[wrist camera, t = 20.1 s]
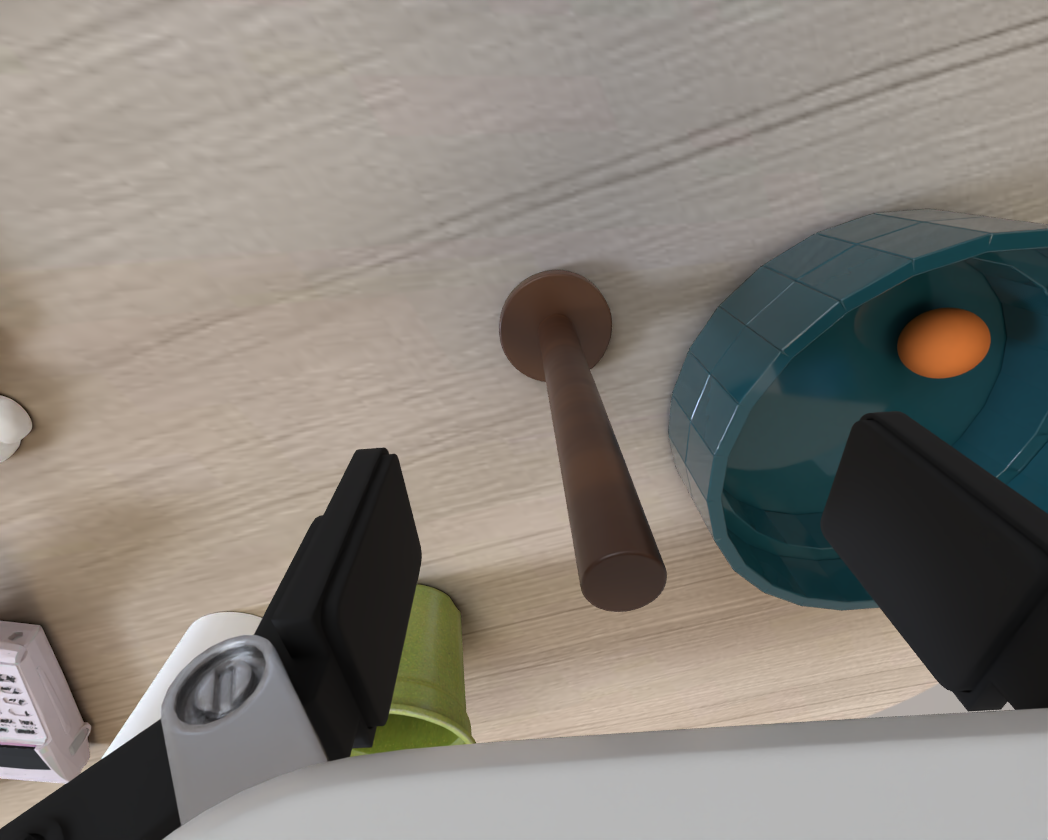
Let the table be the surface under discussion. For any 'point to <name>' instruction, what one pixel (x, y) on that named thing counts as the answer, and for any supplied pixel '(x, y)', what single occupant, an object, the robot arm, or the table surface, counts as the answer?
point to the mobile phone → (37, 711)
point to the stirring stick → (584, 435)
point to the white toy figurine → (12, 426)
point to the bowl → (856, 382)
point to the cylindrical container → (189, 647)
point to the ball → (943, 343)
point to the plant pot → (427, 681)
